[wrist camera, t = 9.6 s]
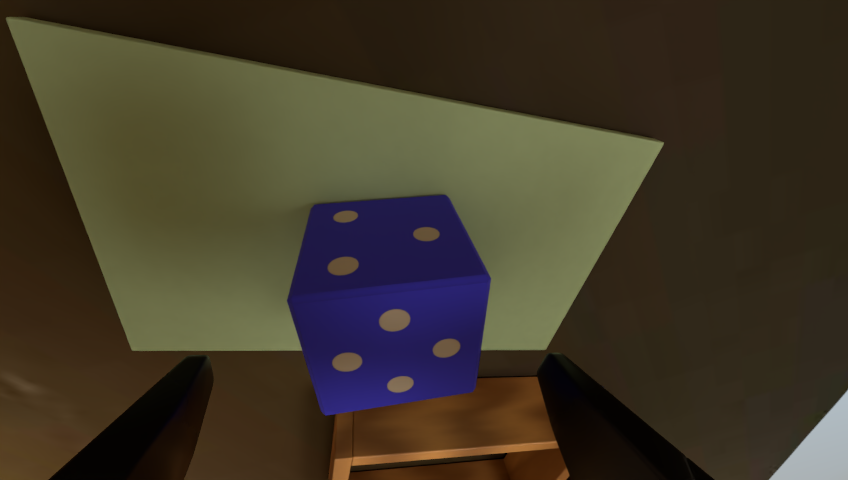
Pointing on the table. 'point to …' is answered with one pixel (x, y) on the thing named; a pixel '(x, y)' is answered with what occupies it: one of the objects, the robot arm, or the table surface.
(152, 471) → the robot arm
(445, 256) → the die
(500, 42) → the table surface
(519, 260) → the mat
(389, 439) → the pine box
